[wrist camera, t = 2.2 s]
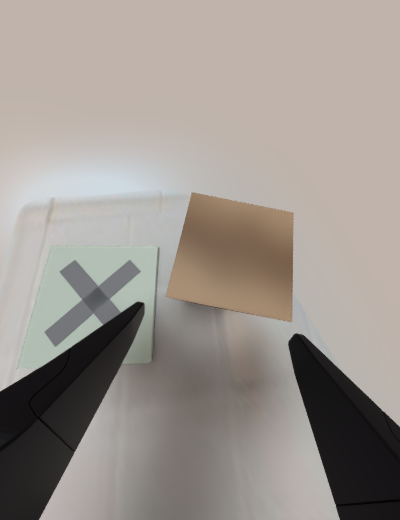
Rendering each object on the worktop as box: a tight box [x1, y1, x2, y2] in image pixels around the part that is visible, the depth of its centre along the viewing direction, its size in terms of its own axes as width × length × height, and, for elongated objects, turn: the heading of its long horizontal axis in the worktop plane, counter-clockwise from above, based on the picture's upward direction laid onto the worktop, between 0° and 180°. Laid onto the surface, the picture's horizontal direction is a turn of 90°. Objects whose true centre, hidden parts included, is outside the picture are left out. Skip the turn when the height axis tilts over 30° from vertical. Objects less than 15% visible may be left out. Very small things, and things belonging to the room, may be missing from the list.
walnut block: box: [166, 193, 293, 322], centre depth 14 cm, size 6×6×13 cm
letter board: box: [16, 246, 159, 369], centre depth 18 cm, size 14×14×1 cm
